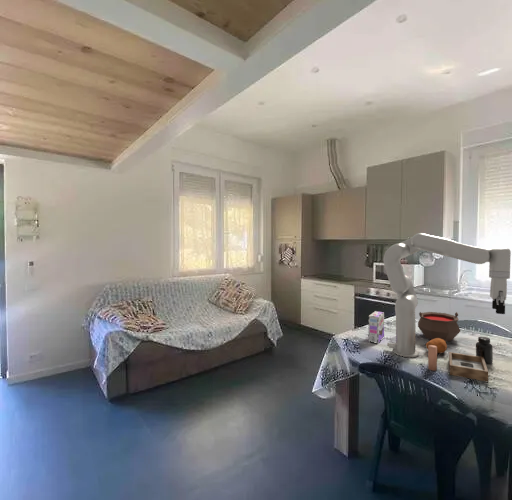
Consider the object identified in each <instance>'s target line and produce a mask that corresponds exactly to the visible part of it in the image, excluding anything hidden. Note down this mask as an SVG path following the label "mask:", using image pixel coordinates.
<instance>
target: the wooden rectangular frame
mask: <svg viewBox="0 0 512 500" xmlns="http://www.w3.org/2000/svg"><path fill="white" fill-rule="evenodd" d="M448 362H449V363H448V364H449V365H448V367H449V375H450V376H454V377H460V378H466V379H472V380H475V379H476V381H480V382H481V381H482V382H486V381H488V382H489V370H488V367H487V364H486V363H485V360H484V358H483V357H479V356H476V355H471V354H465V353H464V354H463V353H460V352H459V353H458V352H452V351H449V352H448Z"/></svg>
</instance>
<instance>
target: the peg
mask: <svg viewBox="0 0 512 500" xmlns="http://www.w3.org/2000/svg"><path fill="white" fill-rule="evenodd" d="M427 350H428V351H427V353H428V355H427V360H428V361H427V363H428V364H427V365H428V366H427V369H428V370H430V371H433V372H434V371H435V372H436V371H437V370H438V365H437V364H438V353H437V346H434V345H429V346H428V349H427Z"/></svg>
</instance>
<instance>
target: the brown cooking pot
mask: <svg viewBox="0 0 512 500" xmlns="http://www.w3.org/2000/svg"><path fill="white" fill-rule="evenodd" d="M418 315H419V320H418V322H417V327H418V328H419V330H420V331H421V334H423V336H424V338H426V339H428V340H430V339H431V340H432V339H435V338H440V339H443V340H444V341H445V342H446V343H447V342H452V341H453V340H455V338H456V337H457V336H458V335H459V333H461V329H460V327H459V324H458V323H457V322H458V321H459V317H458V316H459V313H458V312H457V311H456V312H455V313H454V315H453V314H449V313H446V312H437V311H435V312H434V311H427V312H424V311H423V312H421V311H419V313H418Z"/></svg>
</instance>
